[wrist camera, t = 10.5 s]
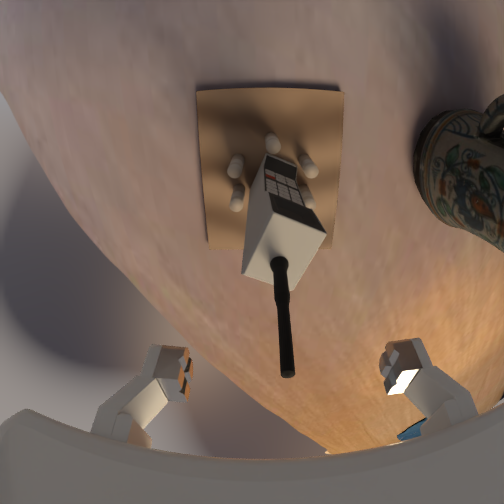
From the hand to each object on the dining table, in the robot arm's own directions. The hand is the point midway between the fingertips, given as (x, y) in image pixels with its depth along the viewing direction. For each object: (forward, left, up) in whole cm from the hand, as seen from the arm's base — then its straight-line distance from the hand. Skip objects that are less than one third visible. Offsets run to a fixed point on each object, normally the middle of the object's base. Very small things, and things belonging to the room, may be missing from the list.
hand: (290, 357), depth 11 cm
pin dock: (0, 0, -26) cm, 26 cm away
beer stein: (-4, +25, -26) cm, 36 cm away
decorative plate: (+94, +68, -27) cm, 119 cm away
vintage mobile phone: (0, 0, -25) cm, 25 cm away
